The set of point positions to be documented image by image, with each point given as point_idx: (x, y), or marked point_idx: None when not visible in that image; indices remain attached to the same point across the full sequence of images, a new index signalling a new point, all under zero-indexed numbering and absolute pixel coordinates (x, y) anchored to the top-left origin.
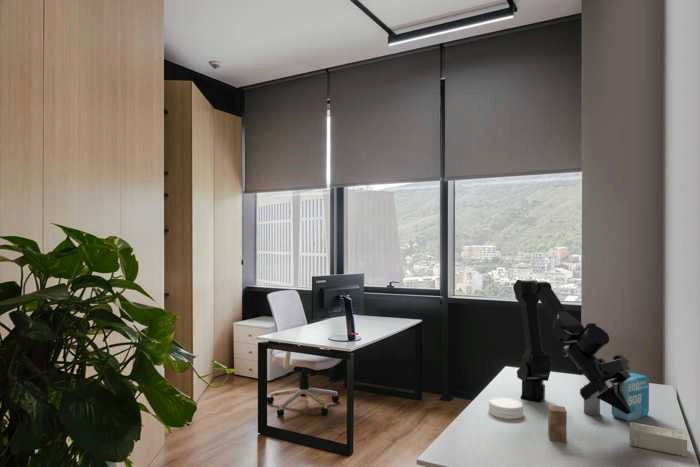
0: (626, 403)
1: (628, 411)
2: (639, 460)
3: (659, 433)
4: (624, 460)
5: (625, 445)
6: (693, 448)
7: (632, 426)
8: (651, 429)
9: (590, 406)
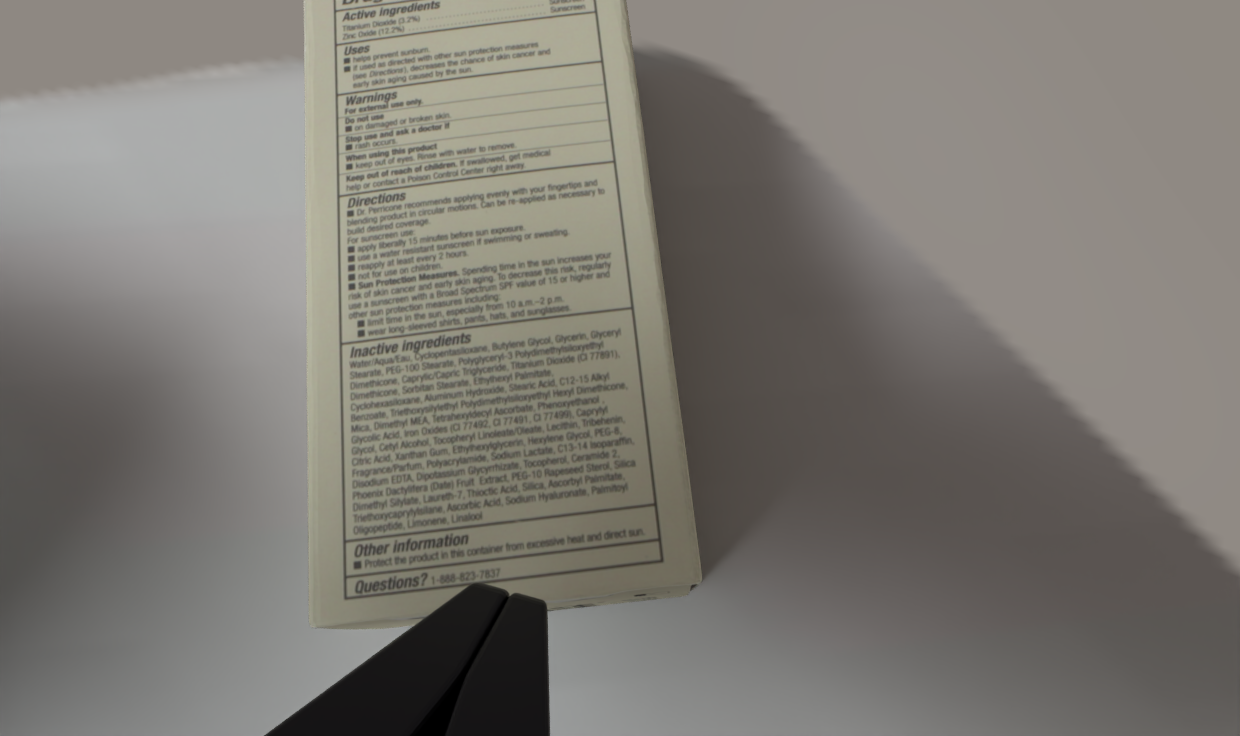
0: (375, 711)
1: (542, 632)
2: (1078, 445)
3: (593, 206)
4: (1225, 591)
5: (715, 644)
6: None
7: (540, 567)
8: (493, 309)
9: None
